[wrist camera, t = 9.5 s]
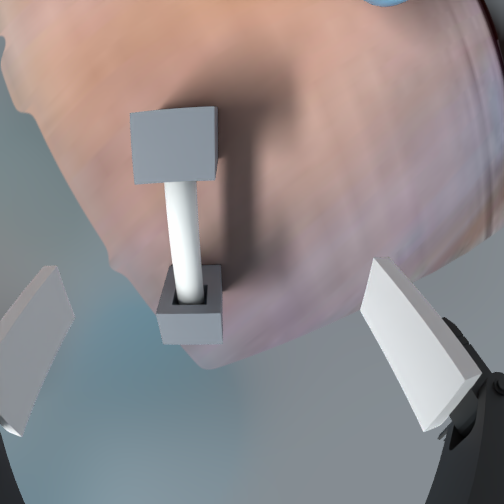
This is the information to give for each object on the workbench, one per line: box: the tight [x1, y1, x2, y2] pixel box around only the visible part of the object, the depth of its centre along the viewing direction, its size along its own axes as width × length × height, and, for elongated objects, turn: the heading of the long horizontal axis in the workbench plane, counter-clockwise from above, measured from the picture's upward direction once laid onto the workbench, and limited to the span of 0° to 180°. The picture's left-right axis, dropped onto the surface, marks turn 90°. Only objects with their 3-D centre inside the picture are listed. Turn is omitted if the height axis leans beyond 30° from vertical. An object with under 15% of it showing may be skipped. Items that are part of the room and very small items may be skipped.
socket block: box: [156, 265, 223, 344], centre depth 46 cm, size 6×9×13 cm, turn 89°
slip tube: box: [164, 181, 205, 305], centre depth 39 cm, size 25×4×4 cm, turn 179°
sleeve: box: [130, 106, 218, 184], centre depth 34 cm, size 8×9×13 cm
